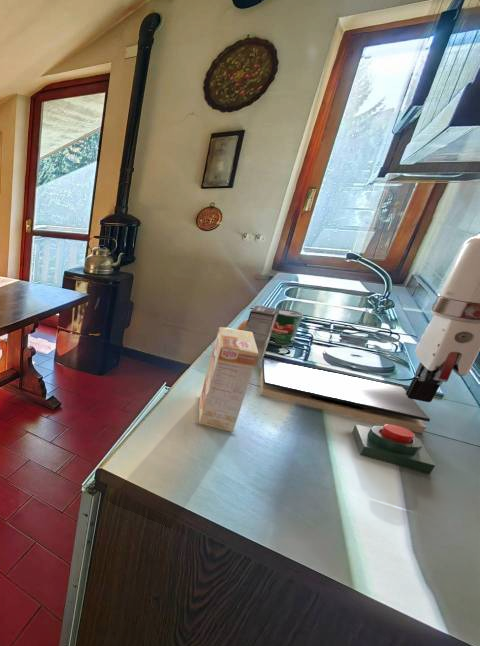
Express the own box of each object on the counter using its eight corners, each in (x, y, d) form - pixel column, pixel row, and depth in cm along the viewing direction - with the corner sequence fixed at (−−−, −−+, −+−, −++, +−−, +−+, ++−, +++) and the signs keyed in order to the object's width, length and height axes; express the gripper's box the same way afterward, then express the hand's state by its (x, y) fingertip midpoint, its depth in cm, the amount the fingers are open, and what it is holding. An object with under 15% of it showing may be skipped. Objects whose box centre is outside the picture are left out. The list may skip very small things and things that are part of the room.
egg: (256, 344, 135) (264, 319, 132) (253, 349, 131) (262, 324, 127) (233, 339, 139) (241, 315, 136) (230, 344, 135) (238, 319, 131)
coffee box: (241, 350, 130) (255, 304, 124) (264, 356, 126) (280, 308, 120) (235, 359, 124) (250, 310, 117) (259, 364, 120) (276, 315, 113)
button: (407, 436, 80) (411, 428, 79) (413, 446, 77) (417, 439, 76) (378, 428, 82) (381, 421, 82) (383, 439, 79) (386, 431, 78)
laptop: (422, 433, 87) (426, 426, 86) (260, 394, 103) (262, 388, 102) (397, 395, 103) (401, 389, 102) (260, 366, 119) (262, 361, 118)
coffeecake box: (199, 396, 102) (218, 326, 94) (231, 403, 99) (254, 331, 91) (197, 424, 90) (219, 346, 82) (233, 433, 87) (260, 353, 79)
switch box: (414, 448, 82) (423, 432, 81) (429, 474, 75) (440, 458, 73) (351, 432, 87) (358, 417, 86) (359, 455, 80) (368, 439, 78)
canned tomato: (267, 344, 136) (277, 314, 131) (262, 336, 142) (272, 307, 138) (294, 347, 133) (306, 317, 128) (289, 340, 139) (299, 310, 135)
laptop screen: (428, 422, 86) (430, 419, 86) (263, 384, 102) (264, 381, 101) (401, 389, 102) (402, 386, 102) (262, 361, 118) (263, 359, 118)
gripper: (518, 324, 61) (460, 422, 69) (479, 302, 73) (432, 388, 80) (448, 316, 65) (400, 409, 73) (421, 296, 76) (382, 379, 84)
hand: (417, 398), depth 76 cm, fingers closed
